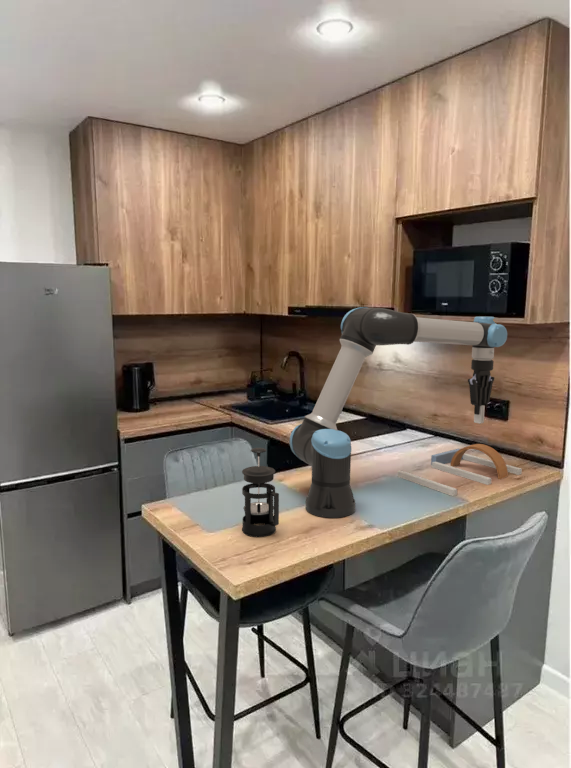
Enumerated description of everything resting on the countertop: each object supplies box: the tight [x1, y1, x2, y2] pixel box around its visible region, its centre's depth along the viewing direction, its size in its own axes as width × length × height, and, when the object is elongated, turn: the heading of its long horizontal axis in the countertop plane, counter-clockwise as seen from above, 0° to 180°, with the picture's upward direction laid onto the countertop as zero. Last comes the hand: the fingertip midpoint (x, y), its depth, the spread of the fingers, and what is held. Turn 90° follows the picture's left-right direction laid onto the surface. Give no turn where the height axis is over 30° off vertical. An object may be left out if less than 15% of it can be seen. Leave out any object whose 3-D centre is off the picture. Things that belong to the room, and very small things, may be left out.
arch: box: [449, 443, 509, 480], centre depth 197 cm, size 6×20×10 cm, turn 41°
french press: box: [241, 447, 280, 538], centre depth 143 cm, size 12×9×23 cm
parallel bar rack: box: [397, 448, 523, 497], centre depth 193 cm, size 40×26×4 cm, turn 126°
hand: (478, 422), depth 195 cm, fingers closed
